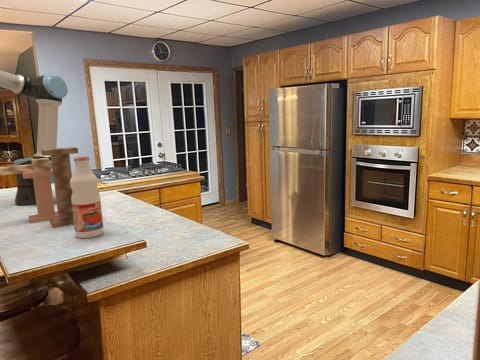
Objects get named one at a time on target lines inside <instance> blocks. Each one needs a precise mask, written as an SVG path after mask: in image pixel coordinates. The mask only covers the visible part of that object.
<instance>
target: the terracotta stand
mask: <svg viewBox="0 0 480 360" xmlns="http://www.w3.org/2000/svg"><path fill="white" fill-rule="evenodd" d="M50 176H53V170H52V169H51V171H46V172H35V173H34V172H30V173H23V178H24V179H26V178H33V182H34V189H35V197H36V204H35V205H36V209H37V214H33V215H32V214H31V215H30V214H29V215H28V221H29V224H33V223H34V224H35V223H41V222H46V220H47V221H50V219H54V218H59V217H58V210H57V211H55V203H54V198H53V196H54V195H53V189H52V188H53V187H52V184H51V179H50ZM40 221H41V222H40Z"/></svg>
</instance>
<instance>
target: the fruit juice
mask: <svg viewBox="0 0 480 360" xmlns="http://www.w3.org/2000/svg"><path fill="white" fill-rule="evenodd" d="M73 161H74V164H75V165H74V170H73V173H72V177H71V179H70V187H71V189H72V196H71V202H72V209H73V218H74V224H73V225H74V233H75V237H77V238H79V239H89V238H90V239H91V238H95V237H99V236H101V235H102V234H103V233H104V222H103V211H102V203H101V195H100V192H99V190H98V187H99V180H98V177H97V176H96V175H95V173H94V172H93V170H92V168H91V166H90V156H87V155H85V156H76V157H73Z"/></svg>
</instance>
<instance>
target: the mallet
mask: <svg viewBox="0 0 480 360" xmlns="http://www.w3.org/2000/svg"><path fill="white" fill-rule="evenodd" d="M46 171H51V168H50V161H49V159H48V158H40V159H32V164H30V165H19V166H14V165H9V166H0V176H7V175H8V176H9V175H15V174H20V173H30V172H34V173H35V172H46Z"/></svg>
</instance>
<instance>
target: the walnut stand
mask: <svg viewBox="0 0 480 360" xmlns="http://www.w3.org/2000/svg"><path fill="white" fill-rule="evenodd" d="M41 153H42V155H43V156H50V155H51V162H52V170H53V178H54V183H53V184H54V194H55V200H56V208H57V211H58V217H59V218H54V219H50V220H49V221H50V224H51V226H52V228H54V227H55V228H58V227H59V226H60V227H65V225H66V226H69V225H70V224H72V225H74V218H73V209H72V202H71V196H72V189H71V187H70V179H71V177H72V176H73V173H72V166H71V157H70V155H73V154H79V148H78V147H75V146H71V147H57V148H55V149H41ZM70 226H71V225H70ZM60 227H59V228H60Z"/></svg>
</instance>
